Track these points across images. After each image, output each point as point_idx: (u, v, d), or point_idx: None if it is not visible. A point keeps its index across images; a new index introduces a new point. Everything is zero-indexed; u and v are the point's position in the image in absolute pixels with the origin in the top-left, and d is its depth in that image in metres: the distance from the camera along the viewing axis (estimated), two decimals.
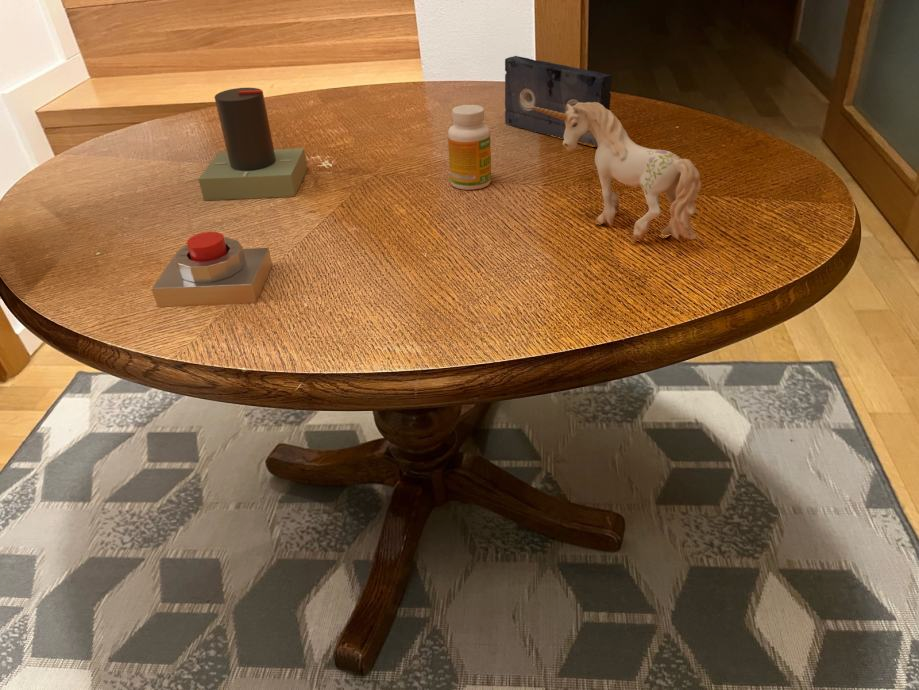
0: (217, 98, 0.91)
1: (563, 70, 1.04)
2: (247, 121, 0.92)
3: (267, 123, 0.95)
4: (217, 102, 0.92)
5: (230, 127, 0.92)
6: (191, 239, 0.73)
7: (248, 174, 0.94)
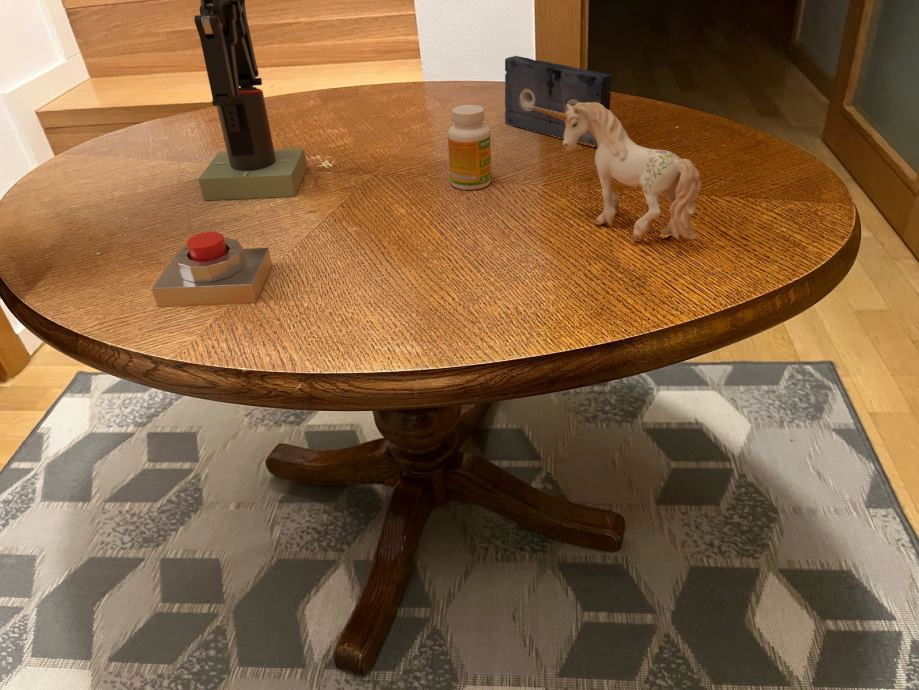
0: None
1: (563, 70, 1.04)
2: None
3: (267, 123, 0.95)
4: None
5: None
6: (191, 239, 0.73)
7: (248, 174, 0.94)
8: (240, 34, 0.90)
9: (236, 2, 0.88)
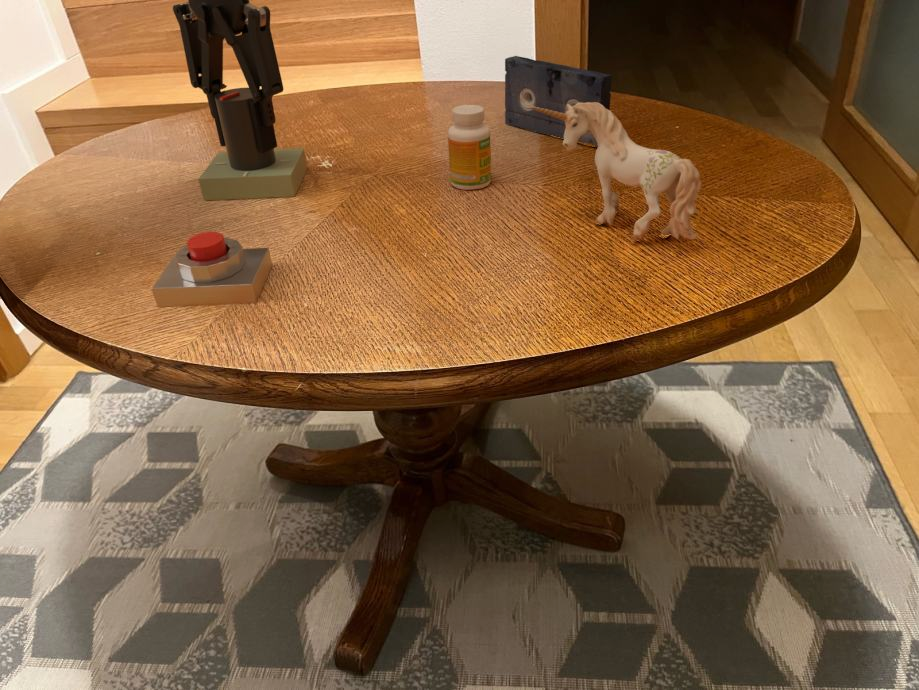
0: (243, 88, 0.95)
1: (563, 70, 1.04)
2: None
3: (226, 130, 0.93)
4: None
5: None
6: (191, 239, 0.73)
7: (248, 174, 0.94)
8: None
9: (213, 7, 0.85)
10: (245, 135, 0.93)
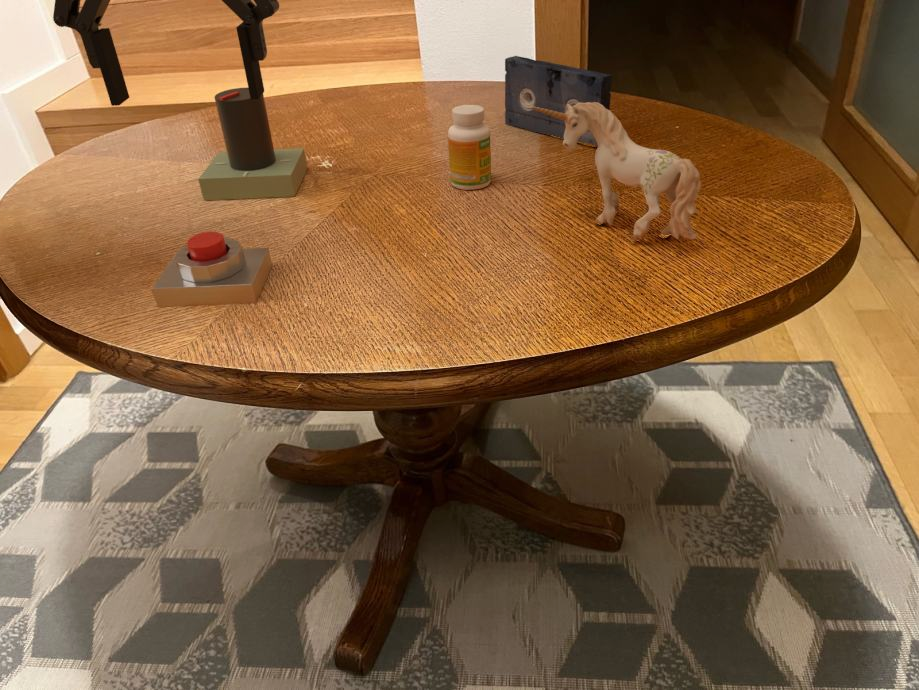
0: (243, 88, 0.95)
1: (563, 70, 1.04)
2: None
3: (226, 130, 0.93)
4: None
5: None
6: (191, 239, 0.73)
7: (248, 174, 0.94)
8: None
9: None
10: (245, 135, 0.93)
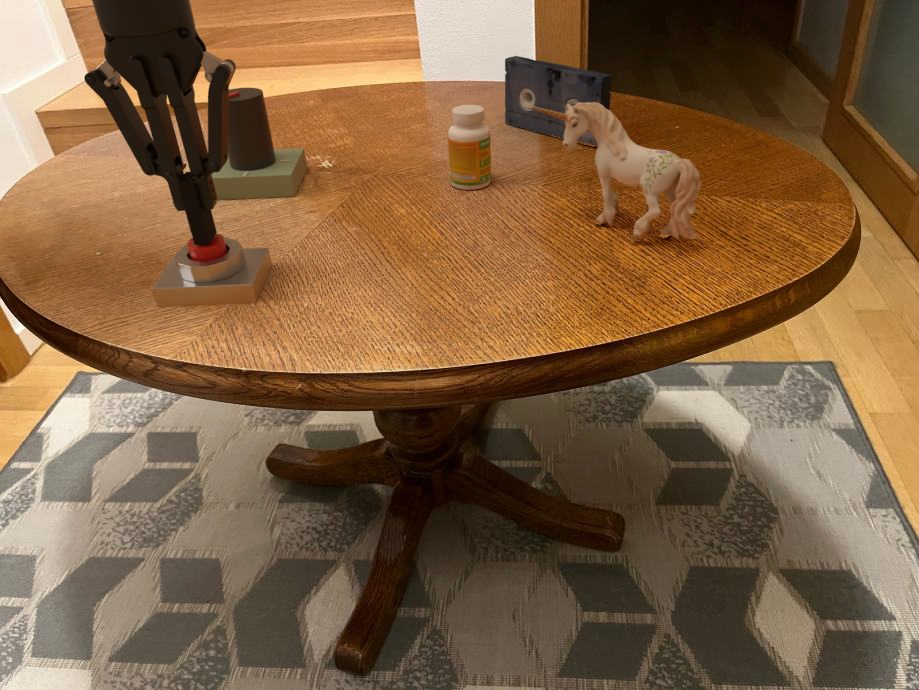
0: (243, 88, 0.95)
1: (563, 70, 1.04)
2: None
3: None
4: None
5: None
6: (191, 240, 0.74)
7: (248, 174, 0.94)
8: None
9: (161, 57, 0.62)
10: (245, 135, 0.93)
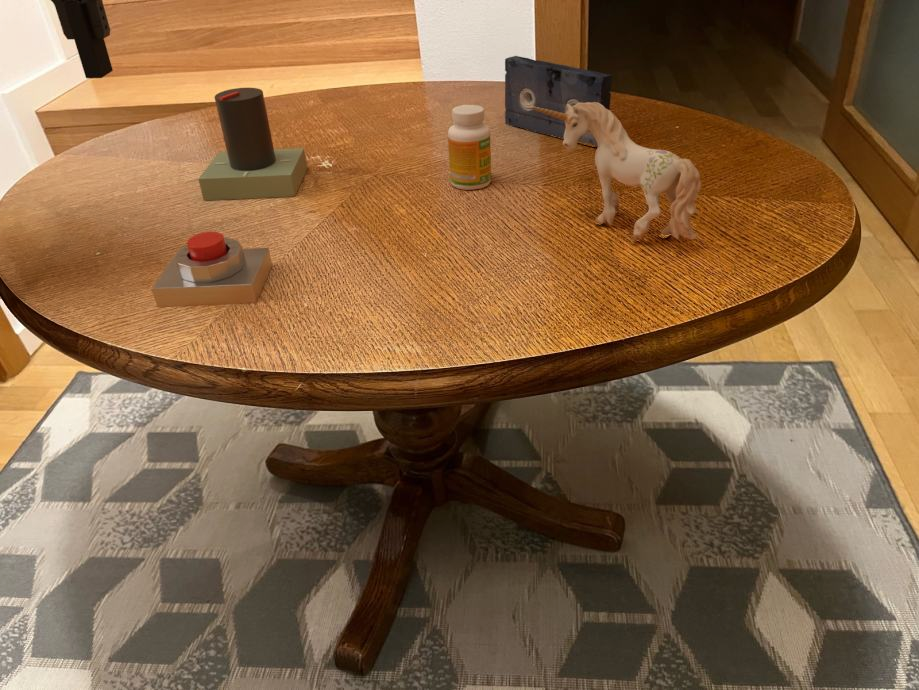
0: (243, 88, 0.95)
1: (563, 70, 1.04)
2: None
3: (226, 130, 0.93)
4: None
5: None
6: (191, 239, 0.73)
7: (248, 174, 0.94)
8: None
9: None
10: (245, 135, 0.93)
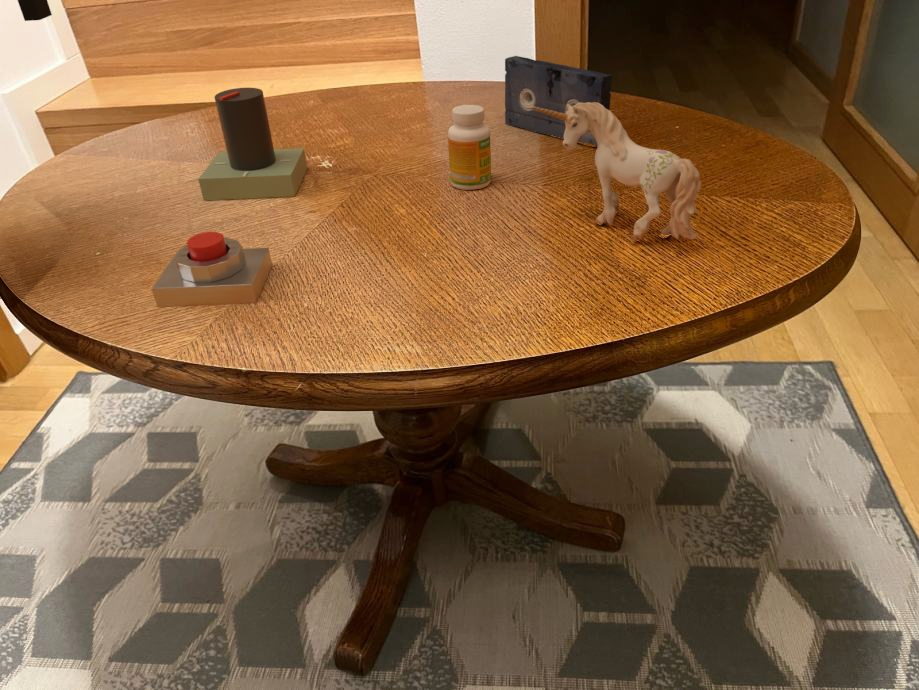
0: (243, 88, 0.95)
1: (563, 70, 1.04)
2: None
3: (226, 130, 0.93)
4: None
5: None
6: (191, 239, 0.73)
7: (248, 174, 0.94)
8: None
9: None
10: (245, 135, 0.93)
